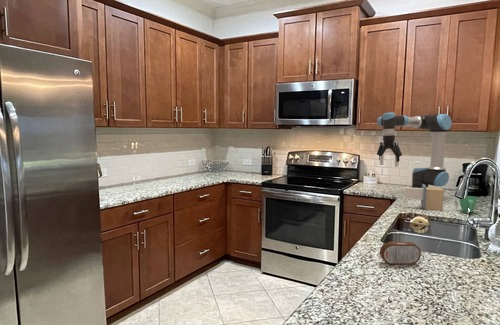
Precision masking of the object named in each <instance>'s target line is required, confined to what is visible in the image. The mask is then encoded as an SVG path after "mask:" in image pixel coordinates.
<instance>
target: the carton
mask: <svg viewBox="0 0 500 325" xmlns="http://www.w3.org/2000/svg"><path fill="white" fill-rule="evenodd" d="M444 192H445V190H444V189H443V188H442V187H430V186H428V187H426V203H425V209H429V210H428V211H437V210H440V211H439V212H442V211H443V209H444ZM425 209H424V210H425Z"/></svg>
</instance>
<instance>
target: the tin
mask: <svg viewBox="0 0 500 325" xmlns="http://www.w3.org/2000/svg"><path fill="white" fill-rule="evenodd" d="M379 256H380V258H381V259H382V260H383V261H384V262H385V263H387V264H389V265H405V264H407V265H408V266H409V265H410V266H411V265H414V264H417V262H419V261H420V259H421V257H422V251H421V248H420V247H419V246H418V245H417V244H416V243H415V242H413V241H387V242H385V243H383V245H381V247H380V249H379Z"/></svg>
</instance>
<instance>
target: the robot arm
mask: <svg viewBox="0 0 500 325" xmlns="http://www.w3.org/2000/svg"><path fill="white" fill-rule="evenodd" d="M376 124H377V126H378V127H382V135H383V136H382V141H380V142H379V146H378V149H377V152H376V155H377V156H378V160H379V166H384V154H385V152H386V151H387V149H388V150H391V151H392V154H394V167H399V165H400V164H399V163H400V157H402V156H403V153H402V152H401V149H400V146H399V142H397V141H395V139H396V138H395V137H396V136H395V134H396V130H395V129H396V128H397V127H399V128H402V127H403V128H413V129H419V130H426V131H429V133H430V134H431V146H430V147H431V149H430V166H429V167H417V168H415V167H414V168H413V169H412V174H411V175H412V177H411V178H412V180H411V187H410V188H422V184H424V185H425V186H426V187H429V186H432V187H433V186H434V187H438V188H442V187H444V186H446V185H447V183H448V182H449V180H450V175H449V172H447V170H446V167H445V166H444V164H445V163H444V162H445V161H444V160H445V143H446V142H445V141H446V134H447V133H448V130H450V129H451V128H452V124H453V121H452V119H451V117H450V115H448V114H447V113H439V114H438V113H435V114H424V115H415V116H408V115H403V114H401V115H399V114H398V115H395V112H384V113H383V114H382V116H379V117H378V118H377V119H376Z"/></svg>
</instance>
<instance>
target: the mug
mask: <svg viewBox="0 0 500 325" xmlns="http://www.w3.org/2000/svg"><path fill="white" fill-rule="evenodd" d="M465 196H466V198H465V199H459V204H460V208H461V211H462V213H464V214H468V213H467V212H468V208H469V209H470V212H471V213H470V214H472V213H473V212H474V210H475V208H476V206H477V203H478V197H477V196H471V195H465Z"/></svg>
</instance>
